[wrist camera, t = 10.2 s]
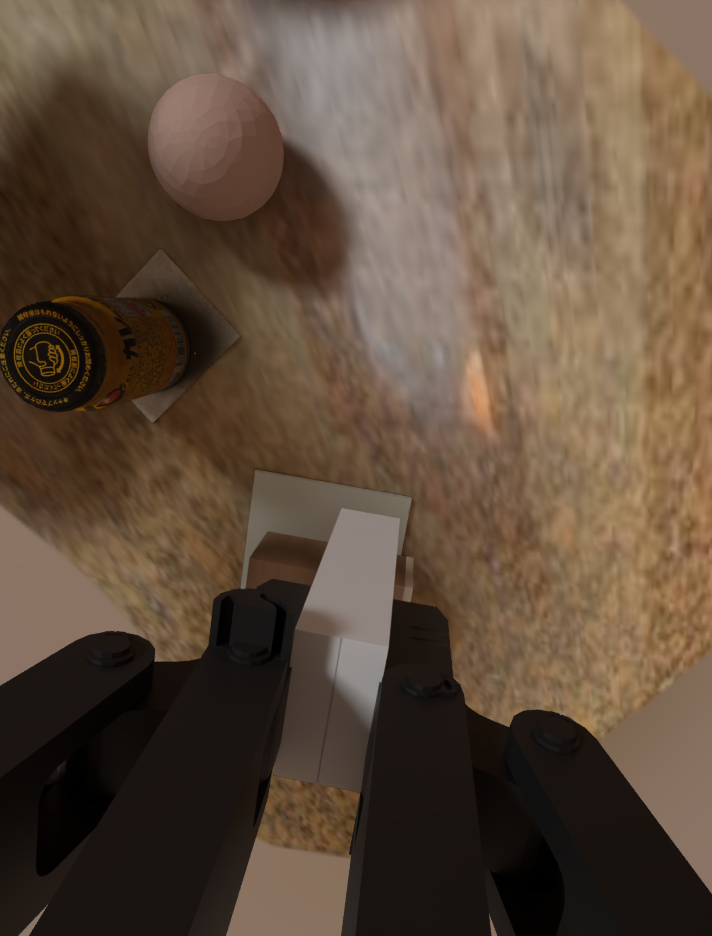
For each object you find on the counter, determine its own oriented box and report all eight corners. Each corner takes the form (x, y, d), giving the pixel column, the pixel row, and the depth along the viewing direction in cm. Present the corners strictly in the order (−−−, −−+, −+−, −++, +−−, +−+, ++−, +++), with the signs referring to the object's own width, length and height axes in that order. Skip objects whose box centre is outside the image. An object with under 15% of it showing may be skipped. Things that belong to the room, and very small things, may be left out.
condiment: (75, 340, 43) (-51, 352, 32) (161, 248, 42) (61, 224, 30) (154, 422, 44) (59, 463, 33) (242, 335, 42) (175, 346, 31)
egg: (176, 100, 39) (113, 46, 31) (295, 100, 39) (262, 45, 31) (180, 227, 41) (122, 207, 33) (295, 229, 40) (264, 210, 32)
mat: (234, 643, 47) (233, 645, 47) (256, 469, 44) (255, 470, 44) (379, 670, 47) (379, 673, 46) (411, 497, 44) (411, 498, 43)
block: (400, 624, 45) (258, 598, 46) (413, 557, 44) (267, 531, 45) (398, 662, 41) (240, 632, 41) (413, 588, 39) (249, 558, 40)
